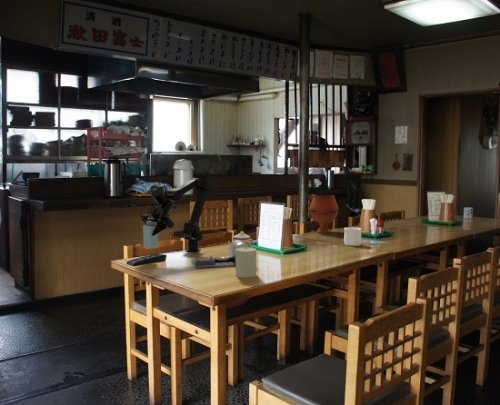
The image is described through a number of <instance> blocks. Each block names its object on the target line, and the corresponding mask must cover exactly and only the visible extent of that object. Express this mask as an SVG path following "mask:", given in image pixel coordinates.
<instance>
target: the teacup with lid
mask: <svg viewBox="0 0 500 405" xmlns="http://www.w3.org/2000/svg"><path fill="white" fill-rule="evenodd" d="M235 240H240V241H242V242H244V243H245V244H247V245H248V246H249V247H251V248H253V246H254V239H252V238H251V236H250V235H248V234H246V233H245V232H244V231H240V232H239V233H237V234H236V235H234V236H233V241H235ZM250 243H251V244H250Z"/></svg>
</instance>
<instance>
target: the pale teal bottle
mask: <svg viewBox="0 0 500 405" xmlns="http://www.w3.org/2000/svg"><path fill="white" fill-rule="evenodd" d="M156 226H157V224H156V223H155V221H146V225H145V224H144V225H142V230H143V232H142V233H143V234H142V236H143V238H142V239H143V243H142V244H143V249H147V250H153V249H158V248H159V233H157V234H156V235H154V236H152V233H153V231H154V229H155V227H156Z"/></svg>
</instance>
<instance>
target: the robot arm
mask: <svg viewBox="0 0 500 405" xmlns="http://www.w3.org/2000/svg"><path fill="white" fill-rule="evenodd" d="M163 188H164V187H157V188H156V189H154V190H153V191H152V192H151V194H150V195H151V198H153V199H154V201H155V202H156V203H157V205H156V206H154V205H152V206H151V205H148V206H147V209H146V213H148V214H142V215H141V216H140V218H139V219H140V220H141V221H142V223H143V224H144V226H145V225H146V221H155V224H156V225H157V226H156V227H155V229H154V231H153V233H152V236H154V235H156V234H157V233H158V234H159V233H160V232H162V231H164V230H167V229H173V228H174V226H175V222H174V221H173V220H172V219H171V217H170V215H169V214H170V212H171V211H172V209H174V210H176V209H177V207H176V203H173V202H179V201H180V200H181V199H183V197H184V195H185V194H186V193H188V192H190V191H191V190H193V189H195V193H196V199H195V202H194V206H193V209H192V211H191V215H190V217H189V220H188V222H186V221H185V222H184V225H183V228H182V234H183V238H184V240H187V249H186V250H185V252H190V253H191V252H193V253H197V252H199V251H202V249H201V248H200V245H199V244H200V243H199V242H200V241H202V240H203V234H202V233H201V232H200V225H199V222H200V219H201V217H202V213H203V209H204V206H205V203H206V200H207V199H208V197H209V196H210V195H211V193H212V191H213V185H212V184H211V182H207V181H205V180H203V179H200V178H197V177H191V178H190V179H188V181H186V182H184V183H182V184H181V185H180V186H177V187H175V188H171V189H168V190H166V192H165V190H164V189H163ZM149 214H150V215H149Z"/></svg>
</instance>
